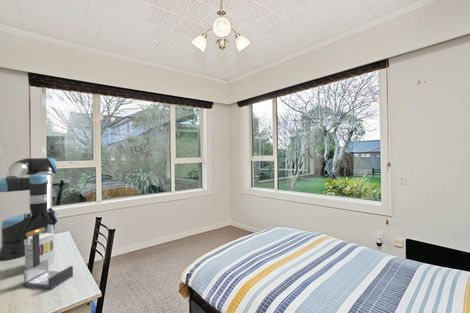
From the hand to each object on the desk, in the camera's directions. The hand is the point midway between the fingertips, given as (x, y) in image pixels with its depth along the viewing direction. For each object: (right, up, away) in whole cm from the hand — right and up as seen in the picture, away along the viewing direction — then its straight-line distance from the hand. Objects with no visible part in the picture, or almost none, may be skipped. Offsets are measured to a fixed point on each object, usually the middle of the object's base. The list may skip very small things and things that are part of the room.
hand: (39, 240), depth 132 cm
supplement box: (0, -14, +1) cm, 14 cm away
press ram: (+10, -12, -14) cm, 21 cm away
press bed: (+18, -15, -15) cm, 28 cm away
